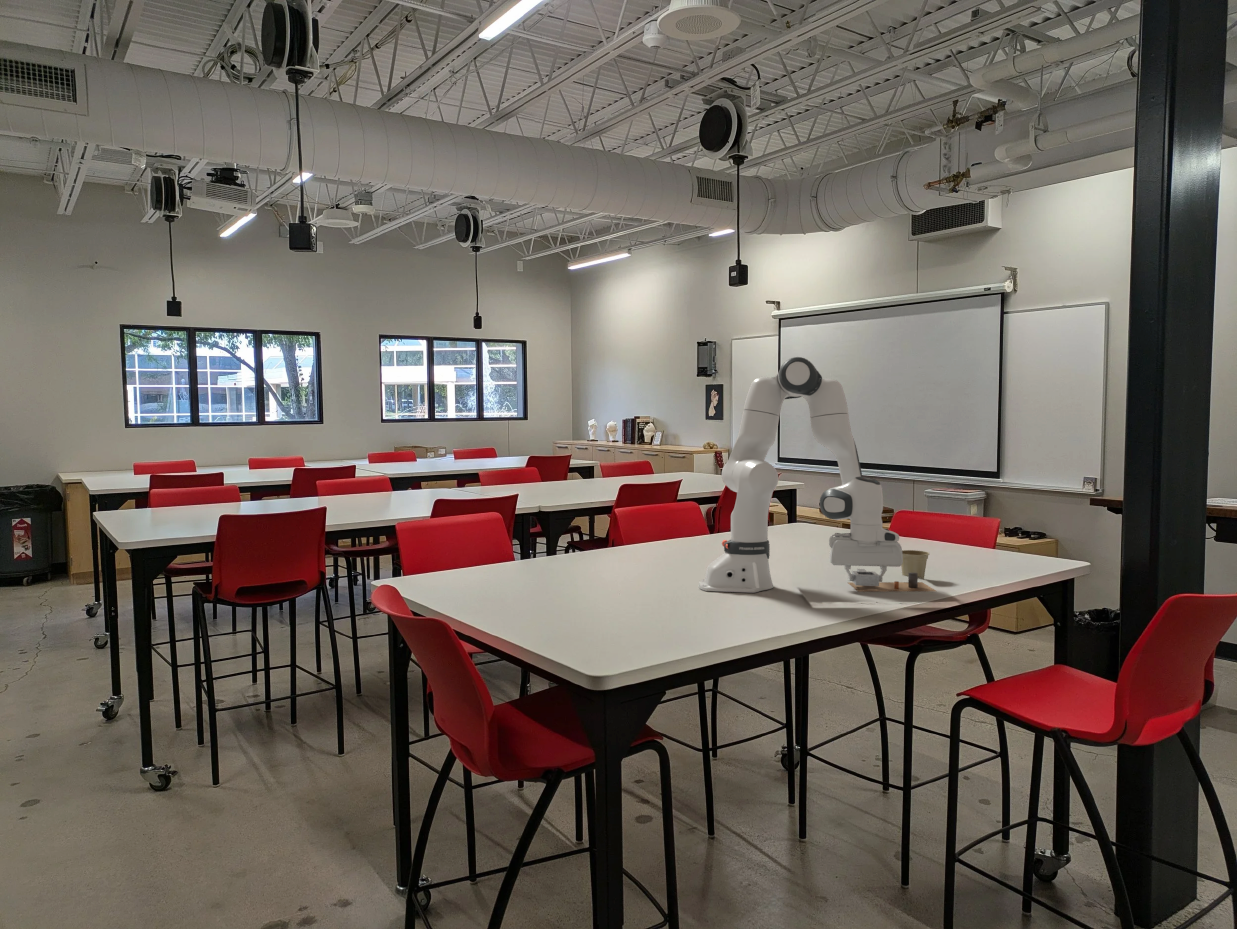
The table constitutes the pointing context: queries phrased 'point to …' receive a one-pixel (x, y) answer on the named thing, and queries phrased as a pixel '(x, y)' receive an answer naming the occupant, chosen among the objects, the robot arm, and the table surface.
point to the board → (895, 586)
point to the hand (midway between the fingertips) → (865, 581)
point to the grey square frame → (865, 578)
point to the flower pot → (914, 562)
